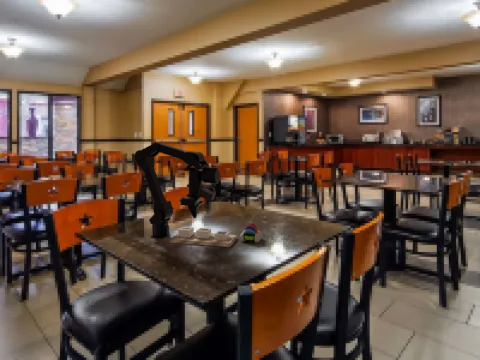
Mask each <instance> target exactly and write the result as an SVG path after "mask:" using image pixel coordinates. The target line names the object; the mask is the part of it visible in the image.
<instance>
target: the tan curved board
mask: <svg viewBox="0 0 480 360" xmlns="http://www.w3.org/2000/svg"><path fill="white" fill-rule="evenodd" d="M215 234H216V233H212V232H211V236H210V237H209V238H208V239H205V238H196V231H194V234H193V235H192V236H191V237H179V235H178V233H177V234H175V235H173V236H172V237H170V238H169V243H171V244H187V245H198V246H208V247H209V246H211V247H213V246H214V247H226V248H230V247H231V246H232V245H233V244H234V243H235V241H237V238H238V236H237V234H229V239H228V240H227V241H221V240H215Z"/></svg>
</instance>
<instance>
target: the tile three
mask: <svg viewBox="0 0 480 360" xmlns="http://www.w3.org/2000/svg"><path fill="white" fill-rule="evenodd" d="M214 234H215V240H221V241H227V240H228V239H229V235H230V231H220V230H218V231H217V232H215V233H214Z"/></svg>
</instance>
